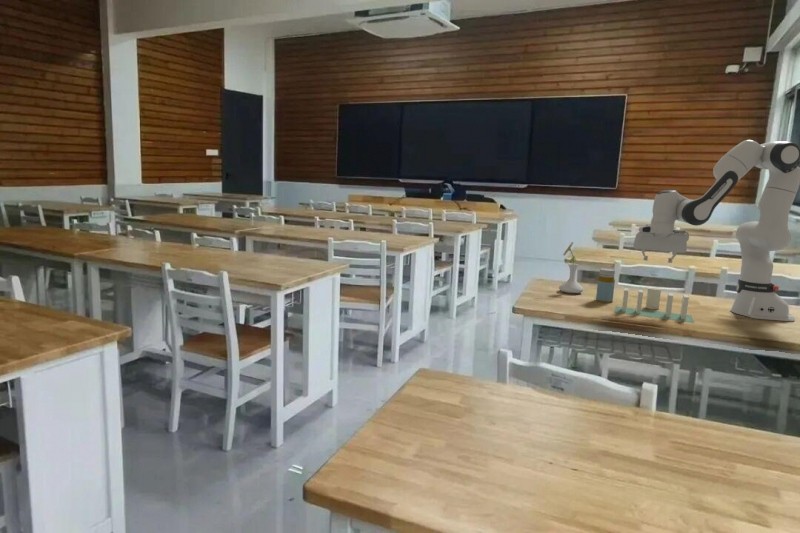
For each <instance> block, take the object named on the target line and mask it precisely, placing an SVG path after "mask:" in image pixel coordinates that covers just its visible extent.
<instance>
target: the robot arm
mask: <svg viewBox="0 0 800 533" xmlns="http://www.w3.org/2000/svg"><path fill="white" fill-rule="evenodd" d="M799 165H800V147H799V145H798V144H797V143H794V142H793V141H786V140H784V141H783V140H782V141H781V140H780V141H776V140H775V141H769V142H762V143H759V142H757V141H755V140H752V139H746V140H743V141H741V142H740V143H737V145H735V146H734V147H732V148H731V149H730V150H728V152H726V153H725V154H724V155H723V156H722V157H721V158H720V159H719V160H718V161H717V162H716V163H715V165H714V166H713V171H712V173H713V177H714V178H715V182H714V184H713V185H711V187H710V188H709V189H708V190H707V191H706V192H705V193H704V194H703V195H701V197H699V198H695V199H691V198H688V197H685V196H684V195H682V194H681V193H679V192H678V191H677V190H676V189H666V190H661V191H658V192H657V193H656V194H655V197H654V200H653V205H652V217H651V219H650V220H651V221H650V224H645V225H641V226H639V227H638V232H637V233H636V235H635V237H634V241H633V246H632V248H634V249H635V250H641V253H642V256H643V261H648V258H649V256H648V255H646V254H645V253H646V251H655V252H664V253H665V252H666V253H671V255H672V256H671V257H668V260H667V263H669V264H672V263H673V259H675V257H676V256H677V253H678V254H684V253H686V252H687V251H688V250H687V249H688V244H687V242H688V241H689V239H690V234H689V232H688V231H686V230H680V229H679V230H678V229H675V222H676V221H678V222H681V223H685V224H689V225H690V226H696V227H697V226H702V225H704V224H706V223H707V222H708V221H709V220H710V218H711V217H712V214H713V213H714V211H715V209H716V208H717V206H718V205H719V204H720V203H721V201H723V200H724V199H725V198H726V196H727V195H728V194H729V193H730V192H731V191H732V190H733V189H734V188H735V186H736V184H737V183H738V182H739V181H740V180H741V178H742V179H743V177H744V176H745V175H746V174H747V173H748V172H749V171H750V170H751V169H752V168H754V169H758V170H768V174H769V176H768V180H767V181H766V184H765V186H764V189H763V192H762V194H761V196H760V199H759V202H758V204H757V207H758V209H759V221H756V220H754V221H746V222H743V223H741V224H740V225H739V226H738V227H737V229H736V231H735V237H736V240H737V241H738V242H739V246H740V254H741V267H740V272H739V273H740V274H739V278H738V280H737V283H736V284H737V285H736V294H735V298H734V301H733V304H732V306H731V308H730V312H732V313H733V314H737V315H741V316H743V317H747V318H751V319H755V320H756V319H757V320H770V321H780V322H781V321H782V322H794V321H795V316H794V315H793V314H790V313H789V312H790V310H789V309H790V308H789V304H788V302H786V301H785V300H784V299H783V298H782V297H781V296H780V295H778V294H777V293H776V292H777V291H779V290H780V286H778V285H775V284H774V283H772V276H773V271H774V263H773V261H772V259H771V257H770V252H776V251H781V250H784V249H786V248H787V247H788V246H789V244H790V243H791V241H792V240H791V239H792V236H791V232H790V231H789V225H788V224H789V215H790V211H791V209H792V205H793V203H794V200H795V198H796V197H797V193H798V191H799V188H800V167H799Z"/></svg>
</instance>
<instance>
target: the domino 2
mask: <svg viewBox="0 0 800 533" xmlns="http://www.w3.org/2000/svg"><path fill="white" fill-rule="evenodd" d="M661 292H662V289H660V288H659V289H658V288H650V287H647V294H646V302H645V309H653V310H659V308H660V301H661V295H662V294H661Z"/></svg>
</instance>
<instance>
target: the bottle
mask: <svg viewBox="0 0 800 533" xmlns="http://www.w3.org/2000/svg"><path fill="white" fill-rule="evenodd" d="M615 274H616V271H615V269H613V268H607V267H606V268H605V267H602V268H600V269H599V276H598V278H597V285H596V296H595V301H596V302H599V303H605V304H610V303H611V304H612V303H614V302H613V299H614V291H615V282H616V279H615Z"/></svg>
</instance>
